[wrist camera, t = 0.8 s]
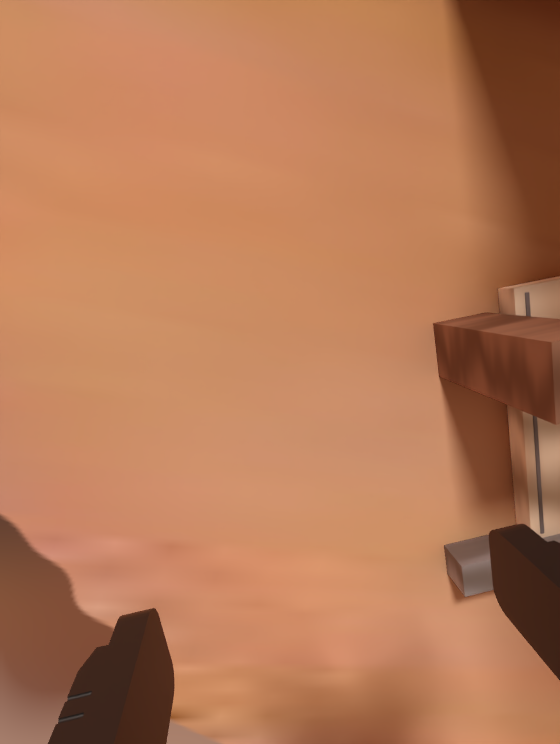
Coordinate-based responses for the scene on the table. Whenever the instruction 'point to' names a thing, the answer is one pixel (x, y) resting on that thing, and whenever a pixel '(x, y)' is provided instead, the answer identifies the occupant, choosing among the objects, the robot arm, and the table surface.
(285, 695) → the table surface
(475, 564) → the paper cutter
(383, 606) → the table surface
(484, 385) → the brown pillar with knob
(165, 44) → the table surface
